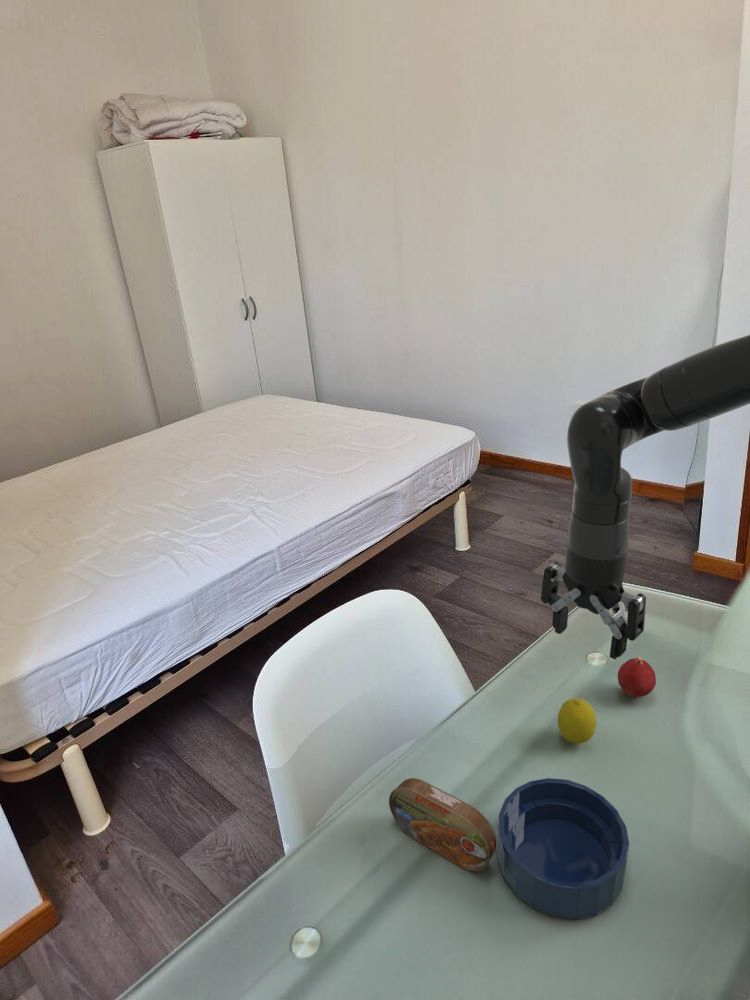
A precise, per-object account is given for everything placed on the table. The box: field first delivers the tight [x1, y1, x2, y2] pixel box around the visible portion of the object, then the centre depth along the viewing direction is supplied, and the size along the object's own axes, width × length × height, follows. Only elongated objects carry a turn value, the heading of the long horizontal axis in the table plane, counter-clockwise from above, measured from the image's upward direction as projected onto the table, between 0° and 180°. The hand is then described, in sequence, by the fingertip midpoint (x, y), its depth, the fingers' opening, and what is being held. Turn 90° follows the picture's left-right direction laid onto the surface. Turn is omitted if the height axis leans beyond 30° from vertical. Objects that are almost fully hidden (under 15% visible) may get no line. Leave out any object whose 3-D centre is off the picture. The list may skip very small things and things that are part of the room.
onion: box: [617, 656, 657, 699], centre depth 111 cm, size 6×6×8 cm
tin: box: [388, 777, 497, 872], centre depth 88 cm, size 15×3×8 cm, turn 53°
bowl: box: [497, 777, 630, 920], centre depth 86 cm, size 15×15×6 cm
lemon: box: [557, 697, 597, 745], centre depth 103 cm, size 6×6×8 cm
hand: (587, 642), depth 97 cm, fingers open, 8 cm apart
